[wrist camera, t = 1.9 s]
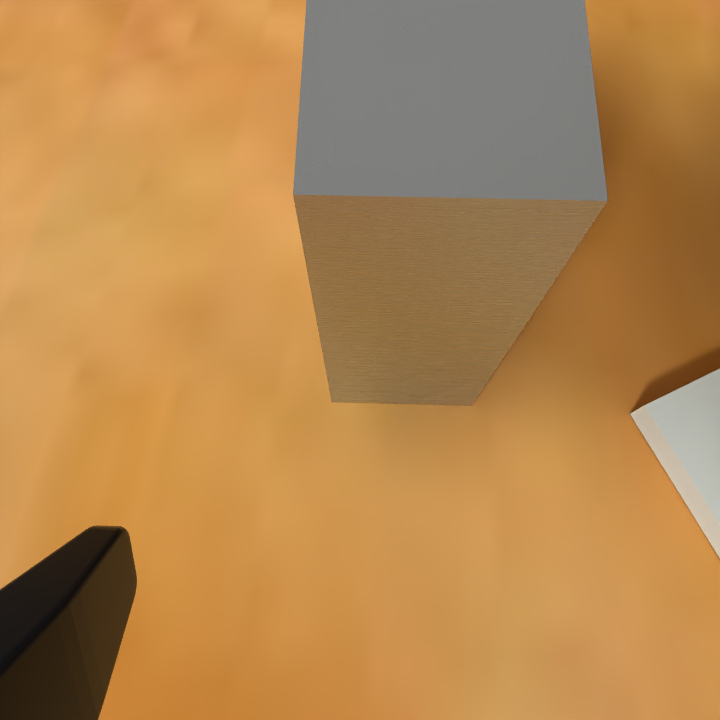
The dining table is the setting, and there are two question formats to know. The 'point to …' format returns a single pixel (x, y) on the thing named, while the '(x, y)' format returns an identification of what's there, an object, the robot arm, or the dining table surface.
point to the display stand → (689, 446)
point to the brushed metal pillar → (440, 184)
